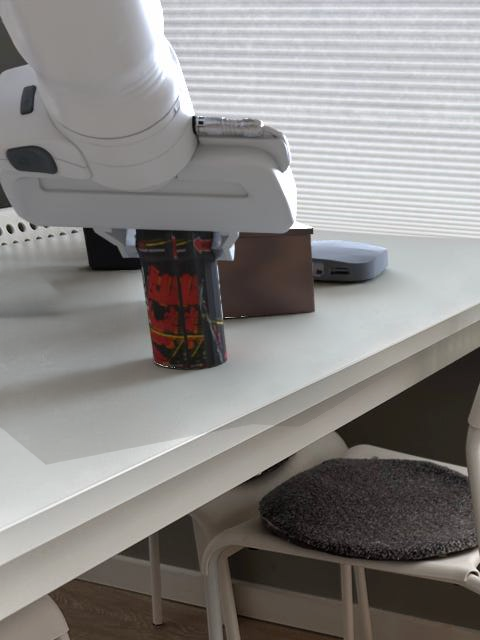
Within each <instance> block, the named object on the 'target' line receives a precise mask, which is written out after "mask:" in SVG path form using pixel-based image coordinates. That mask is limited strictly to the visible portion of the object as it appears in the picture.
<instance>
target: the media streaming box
mask: <svg viewBox="0 0 480 640" xmlns="http://www.w3.org/2000/svg"><path fill="white" fill-rule="evenodd" d="M311 248H312V266H313V281H324V282H325V281H326V282H361V281H364V280H365V281H366V280H370V279H374V278H376V277H378V276H379V275H380V274H381V273H383V272H384V271H385V270H386V269H387V268H388V266H389V258H388V257H389V255H388V253H389V252H388V248H386V247H382V246H377V245H372V244H370V243H363V242H357V241H349V240H340V239H339V240H338V239H336V240H335V239H320V240H319V239H318V240H311Z"/></svg>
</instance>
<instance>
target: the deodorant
mask: <svg viewBox="0 0 480 640" xmlns="http://www.w3.org/2000/svg"><path fill="white" fill-rule="evenodd" d="M212 233H213V231H185V230H151V229H136V236H137V243H138V250H139V257H140V265H141V269H140V271H141V272H140V273H141V278H142V284H143V286H142V287H143V293H144V299H145V306H146V307H145V308H146V313H147V320H148V321H147V322H148V328H149V335H150V343H151V349H152V357H153V362H154V361H155V362H156V363H158V364H161V365H163V366H168V367H173V368H174V367H175V368H200V369H206V368H205V367H208V368H212V366H213V367H217V366H220V365H223V364H225V363H226V362H227V360H228V354H227V344H226V333H225V325H224V319H223V313H222V303H221V294H220V284H219V274H218V264H217V260H215V258H214V254H212V251H211V241H212V239H213V238H212ZM173 368H172V369H173Z"/></svg>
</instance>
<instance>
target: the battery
mask: <svg viewBox="0 0 480 640" xmlns="http://www.w3.org/2000/svg"><path fill="white" fill-rule="evenodd" d="M82 231H83V237H84V243H85V248H86V254H87V255H86V256H87V259H88V260H87V261H88V266H89V268H90V269H91V270H93V271H101V270H103V271H104V270H135V269H136V270H137V269H139V270H141V265H140V258H131V257H130V258H123V257H122V255H121V253H120V251H119V249H118V247H117V245H114V244H112V243H111V242H109V241H108V240H106V239H105V238H103V237H102V236H100V235H98V234H97V233H95V232H94V230H93V228H84V227H82Z"/></svg>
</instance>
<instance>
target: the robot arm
mask: <svg viewBox="0 0 480 640" xmlns="http://www.w3.org/2000/svg"><path fill="white" fill-rule="evenodd" d="M0 23H2V24H3V25H4V27H5V29H6V31H7V34H8V36H9V37H10V39H11V41H12V43H13V45H14V47H15V49H16V50H17V52H18V53H19V54H20V56H21V58H22V59H23V60H24V61H25V62H26V63H27V64H23V65H20V66H15V67H12V68H8V69H6V70H4V71H2V72H1V73H0V186H1V188H2V190H3V192H4V194H5V196H6V198H7V200H8V202H9V203H10V206H11V207H12V208H13V211H14V212H15V214H16V215H17V216H18V217H19V218H20V219H22V220H24V221H26V222H27V223H29V224H31V225H33V226H35V227H52V228H53V227H54V228H55V227H57V228H61V227H62V228H83V227H84V228H93V230H94V232H95V233H97V234H98V235H100V236H102V237H103V238H105V239H106V240H108V241H109V242H111V243H112V244H114V245H117V247H118V249H119V251H120V253H121V255H122V257H123V258H130V257H131V258H140V257H139V250H138V243H137V236H136V229H151V230H185V231H213V233H212V238H213V239H212V241H211V251H212V254H214V258H215V260H227V261H233V260H234V250H235V245H234V243H235V241H236V240H237V238H238V237H239V232H252V233H285V232H287V231H288V230H289V229H290V228H291V227H292V226H293V225H294V223H295V222H296V217H297V187H296V183H295V179H294V176H293V173H292V169H291V167H290V166H291V164H292V156H291V150H290V145H289V142H288V139H287V137H286V135H285V134H284V132H283V131H279V130H277V129H275V128H273V127H271V126H269V125H265V124H264V123H263V121H262V120H261V119H258V118H252V117H251V118H250V117H245V118H241V119H237V118H236V119H231V118H226V117H218V116H199V115H197V116H196V114H195V110H194V107H193V104H192V101H191V98H190V95H189V91H188V88H187V85H186V81H185V78H184V75H183V72H182V68H181V66H180V62H179V60H178V57H177V55H176V52H175V50H174V49H173V47H172V45H171V43H170V42H169V41H168V39H167V38H166V37H165V35H164V15H163V8H162V3H161V0H0Z"/></svg>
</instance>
